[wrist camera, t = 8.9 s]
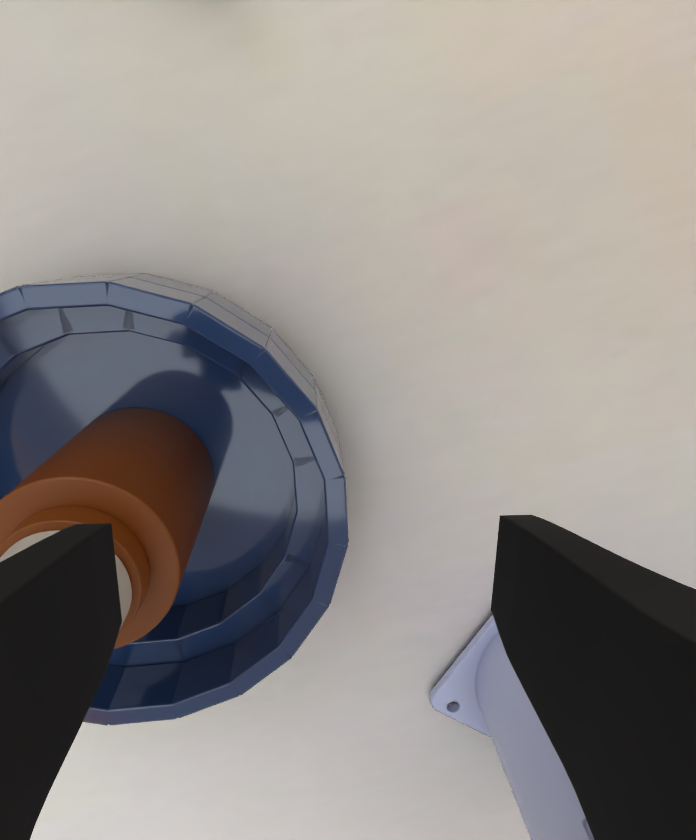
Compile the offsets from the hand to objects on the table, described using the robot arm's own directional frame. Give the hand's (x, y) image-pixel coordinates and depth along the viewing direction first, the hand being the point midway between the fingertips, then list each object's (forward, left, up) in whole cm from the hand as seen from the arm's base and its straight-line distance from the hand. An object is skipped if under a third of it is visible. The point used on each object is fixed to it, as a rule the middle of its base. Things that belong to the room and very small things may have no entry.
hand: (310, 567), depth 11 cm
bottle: (+4, +4, -9) cm, 11 cm away
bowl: (+4, +4, -10) cm, 11 cm away
